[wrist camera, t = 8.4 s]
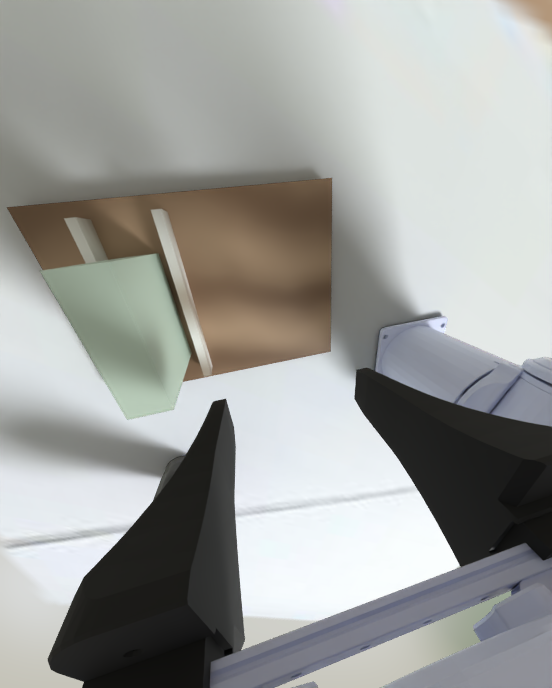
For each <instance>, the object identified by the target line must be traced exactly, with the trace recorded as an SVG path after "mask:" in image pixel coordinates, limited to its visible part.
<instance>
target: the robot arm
mask: <svg viewBox="0 0 552 688" xmlns="http://www.w3.org/2000/svg"><path fill="white" fill-rule="evenodd" d="M447 321H448V318H447V317H445V316H440V317H435V318H430V319H425V320H419V321H414V322H409V323H404V324H399V325H394V326H389V327H384V328H382V329H381V331H380V335H379V343H378V351H377V359H376V368H375V371H374V370H371V369H369V368H363V369H359V370H357V372H356V386H355V400H356V402H357V404H358V405H359V407H360V409H361V410H362V412H363V414H364V415H365V416H366V418H367V419H368V420H369V422H370V423H371V424H372V426H373V427H374V428H375V429H376V431H377V432H378V433H379V434H380V436H381V437H382V438H383V439H384V441H385V442H386V443H387V444H388V446H389V447H390V448H391V450H392V451H393V452H394V454H395V455H396V456H397V458H398V459H399V461H400V462H401V464H402V465H403V467H404V468H405V470H406V472H407V473H408V475H409V476H410V478H411V479H412V481H413V483H414V484H415V486H416V487H417V489H418V491H419V492H420V494H421V496H422V497H423V499H424V501H425V502H426V504H427V506H428V508H429V509H430V511H431V513H432V514H433V516H434V518H435V520H436V521H437V523H438V525H439V527H440V529H441V531H442V532H443V534H444V536H445V538H446V540H447V542H448V543H449V545H450V547H451V549H452V551H453V553H454V555H455V557H456V559H457V561H458V563H459V565H460V566H461V567H460V568H457V569H455V570H452V571H449V572H447V573H444V574H442V575H439V576H436V577H434V578H431V579H428V580H426V581H423V582H420V583H418V584H415V585H413V586H410V587H407V588H405V589H402V590H399V591H397V592H394V593H391V594H389V595H386V596H384V597H381V598H378V599H376V600H373V601H370V602H368V603H365V604H362V605H360V606H357V607H355V608H352V609H349V610H347V611H344V612H341V613H339V614H336V615H333V616H331V617H328V618H325V619H323V620H320V621H318V622H315V623H312V624H310V625H307V626H304V627H302V628H299V629H297V630H294V631H292V632H289V633H286V634H283V635H281V636H278V637H275V638H273V639H270V640H268V641H265V642H262V643H260V644H257V645H255V646H252V647H249V648H246V649H244V650H241V649H242V646H243V644H244V641H245V636H244V626H243V614H242V602H241V591H240V578H239V565H238V552H237V538H236V522H235V505H234V488H235V448H236V446H235V434H234V426H233V422H232V419H231V415H230V412H229V408H228V405H227V401H226V399H223V400H218V401H214V402H213V403H212V405H211V408H210V410H209V412H208V414H207V417H206V419H205V421H204V423H203V425H202V427H201V429H200V431H199V433H198V435H197V436H196V438H195V440H194V442H193V444H192V445H191V447H190V449H189V450H188V452H187V454H186V455H185V457H184V459H183V460H182V462H181V463H180V465H179V466H178V468H177V469H176V471H175V472H174V474H173V475H172V477H171V478H170V479H169V481H168V482H167V483H166V485H165V486H164V487H163V489H162V490H161V492H160V493H159V494H158V495H157V497H156V498H155V499H154V501H153V502H152V503H151V504H150V506H149V507H148V508H147V509H146V510H145V511H144V513H143V514H142V515H141V516H140V517H139V519H138V520H137V521H136V522H135V523H134V524H133V526H132V527H131V528H130V529H129V530H128V531H127V532H126V534H125V535H124V536H123V537H122V538H121V539H120V540H119V541H118V542H117V543H116V544H115V545H114V547H113V548H112V549H111V550H110V551H109V552H108V553H107V554H106V555H105V556H104V557H103V558H102V559H101V560H100V561H99V562H98V563H97V564H96V565H95V566H94V567H93V568H92V569H91V570H90V571H89V573H88V574H87V575H86V576H85V577H84V578H83V580H82V582H81V584H80V586H79V588H78V590H77V592H76V594H75V596H74V598H73V601H72V603H71V605H70V608H69V610H68V613H67V615H66V617H65V620H64V622H63V624H62V627H61V629H60V631H59V634H58V636H57V638H56V641H55V643H54V645H53V648H52V650H51V653H50V655H49V657H48V662H49V665H50V668H51V670H53V671H55V672H57V673H59V674H62V675H65V676H68V677H71V678H75V679H77V680H80V681H84V684H83V687H82V688H275V687H277V686H280V685H282V684H285V683H287V682H289V681H292V680H294V679H297V678H299V677H302V676H304V675H307V674H309V673H311V672H314V671H316V670H319V669H321V668H323V667H326V666H328V665H331V664H333V663H336V662H338V661H340V660H343V659H345V658H348V657H350V656H353V655H355V654H357V653H360V652H363V651H365V650H367V649H370V648H372V647H375V646H377V645H379V644H382V643H384V642H387V641H389V640H392V639H394V638H397V637H399V636H401V635H404V634H406V633H409V632H411V631H414V630H416V629H419V628H421V627H423V626H426V625H428V624H431V623H433V622H435V621H438V620H440V619H443V618H445V617H448V616H450V615H453V614H455V613H457V612H460V611H462V610H465V609H467V608H470V607H472V606H475V605H477V604H479V603H482V602H484V601H486V600H489V599H492V598H494V597H496V596H499V595H501V594H504V593H506V592H509V591H511V590H512V591H511V595H512V596H510V597H508V598H506V599H505V600H503V601H501V602H499V603H498V604H495V605H494V606H493V608H492V610H491V611H490V612H489V613H488V614H487V615H486V616H485V617H484V618H483V619H481V620H480V621H479V622H477V623H476V624H475V625H474V626H473V628H474V631H475V633H476V635H477V636H478V638H479V639H480V641H481V642H479V643H477V644H474V645H472V646H470V647H468V648H465V649H463V650H461V651H458V652H456V653H454V654H452V655H449V656H447V657H445V658H443V659H440V660H438V661H436V662H434V663H432V664H430V665H427V666H425V667H423V668H421V669H419V670H417V671H414V672H412V673H410V674H408V675H406V676H404V677H402V678H400V679H398V680H395V681H393V682H391V683H389V684H387V685H385V686H383V687H381V688H552V358H547V357H542V358H536V359H527V360H525V361H524V363H523V365H522V366H521V365H516V364H514V363H512V362H509V361H507V360H505V359H502V358H500V357H498V356H495V355H493V354H491V353H488V352H486V351H484V350H481V349H479V348H477V347H474V346H472V345H470V344H467V343H465V342H463V341H460V340H458V339H456V338H453V337H451V336H449V335H446V334H444V332H445V328H446V325H447ZM384 336H385V337H384ZM383 337H384V338H383ZM292 688H318V686H317V684H316V683H315V682H310V683H306V684H303V685H300V686H296V687H292Z"/></svg>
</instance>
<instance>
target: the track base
mask: <svg viewBox="0 0 552 688" xmlns="http://www.w3.org/2000/svg"><path fill="white" fill-rule="evenodd" d="M7 209H8V210H9V212H10V214H11V216H12V217H13V219H14V221H15V222H16V224H17V226H18V228H19V229H20V231H21V233H22V235H23V236H24V238H25V240H26V241H27V243H28V245H29V247H30V248H31V250H32V252H33V254H34V255H35V257H36V259H37V260H38V262H39V264H40V266H41V267H42V269H43V270H48V269H54V268H61V267H67V266H73V265H79V264H86V263H92V262H98V261H104V260H111V259H117V258H124V257H132V256H140V255H148V254H156V253H158V254H159V257H160V260H161V263H162V266H163V269H164V272H165V275H166V278H167V281H168V284H169V287H170V290H171V293H172V296H173V299H174V302H175V305H176V308H177V311H178V314H179V317H180V320H181V323H182V326H183V329H184V332H185V335H186V338H187V341H188V344H189V347H190V350H191V353H192V354H191V357H190V360H189V363H188V366H187V369H186V373H185V376H184V379H183V382H184V381H189V380H194V379H199V378H204V377H208V376H213V375H218V374H223V373H228V372H233V371H238V370H243V369H247V368H252V367H257V366H262V365H267V364H272V363H277V362H282V361H287V360H291V359H296V358H301V357H306V356H311V355H316V354H321V353H326V352H331V233H332V178H326V179H315V180H304V181H293V182H282V183H271V184H260V185H249V186H238V187H227V188H216V189H205V190H194V191H183V192H172V193H161V194H149V195H138V196H127V197H116V198H105V199H94V200H83V201H72V202H61V203H50V204H39V205H28V206H17V207H7Z"/></svg>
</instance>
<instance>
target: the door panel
mask: <svg viewBox="0 0 552 688" xmlns="http://www.w3.org/2000/svg"><path fill="white" fill-rule="evenodd" d="M40 272H41V274H42V276H43V277H44V279H45V281H46V282H47V284H48V286H49V288H50V289H51V291H52V293H53V294H54V296H55V298H56V299H57V301H58V303H59V305H60V306H61V308H62V310H63V311H64V313H65V315H66V317H67V318H68V320H69V322H70V323H71V325H72V327H73V328H74V330H75V332H76V334H77V335H78V337H79V339H80V340H81V342H82V344H83V345H84V347H85V349H86V351H87V352H88V354H89V356H90V357H91V359H92V361H93V363H94V364H95V366H96V368H97V369H98V371H99V373H100V374H101V376H102V378H103V380H104V381H105V383H106V385H107V386H108V388H109V390H110V391H111V393H112V395H113V397H114V398H115V400H116V402H117V403H118V405H119V407H120V409H121V410H122V412H123V414H124V415H125V417H126V419H127V420H129V419H134V418H139V417H143V416H148V415H152V414H157V413H161V412H166V411H170V410H174V407H175V404H176V401H177V398H178V395H179V391H180V388H181V385H182V382H183V379H184V376H185V373H186V369H187V366H188V363H189V360H190V357H191V354H192V353H191V350H190V347H189V344H188V341H187V338H186V335H185V332H184V329H183V326H182V323H181V320H180V317H179V314H178V311H177V308H176V305H175V302H174V299H173V296H172V293H171V290H170V287H169V284H168V281H167V278H166V275H165V272H164V269H163V266H162V263H161V260H160V257H159V254H158V253H156V254H148V255H140V256H132V257H124V258H117V259H111V260H104V261H98V262H92V263H86V264H79V265H73V266H67V267H61V268H54V269H48V270H42V271H40Z"/></svg>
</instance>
